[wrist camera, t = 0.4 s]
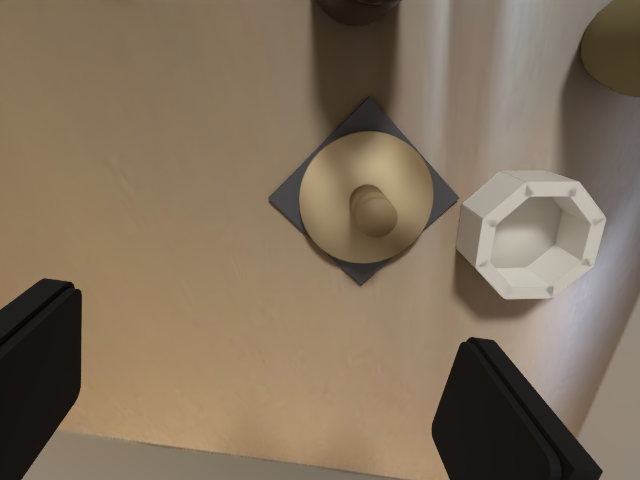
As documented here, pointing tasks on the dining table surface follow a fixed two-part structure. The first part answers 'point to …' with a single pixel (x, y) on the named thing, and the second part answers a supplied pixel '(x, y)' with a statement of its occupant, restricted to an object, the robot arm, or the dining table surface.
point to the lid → (366, 197)
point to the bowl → (530, 233)
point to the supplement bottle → (357, 10)
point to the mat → (359, 120)
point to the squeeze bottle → (614, 47)
